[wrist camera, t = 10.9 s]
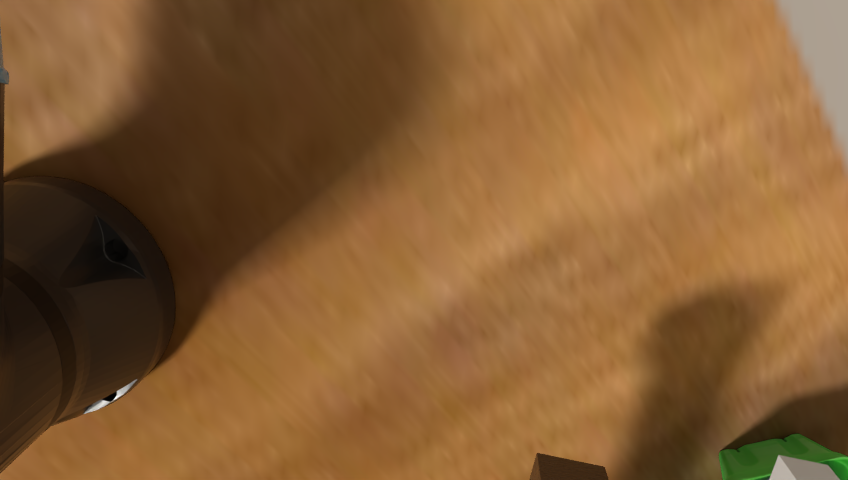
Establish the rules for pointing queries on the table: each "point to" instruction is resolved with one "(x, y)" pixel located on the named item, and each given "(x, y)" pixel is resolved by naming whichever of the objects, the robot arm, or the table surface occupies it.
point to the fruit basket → (756, 461)
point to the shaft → (565, 469)
